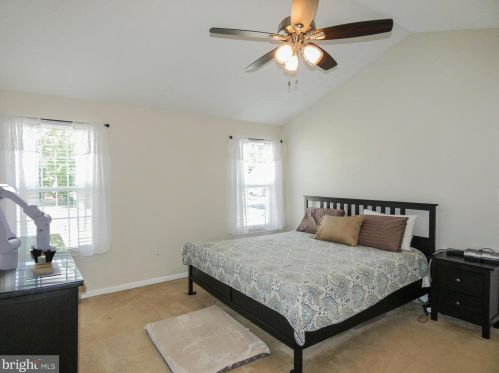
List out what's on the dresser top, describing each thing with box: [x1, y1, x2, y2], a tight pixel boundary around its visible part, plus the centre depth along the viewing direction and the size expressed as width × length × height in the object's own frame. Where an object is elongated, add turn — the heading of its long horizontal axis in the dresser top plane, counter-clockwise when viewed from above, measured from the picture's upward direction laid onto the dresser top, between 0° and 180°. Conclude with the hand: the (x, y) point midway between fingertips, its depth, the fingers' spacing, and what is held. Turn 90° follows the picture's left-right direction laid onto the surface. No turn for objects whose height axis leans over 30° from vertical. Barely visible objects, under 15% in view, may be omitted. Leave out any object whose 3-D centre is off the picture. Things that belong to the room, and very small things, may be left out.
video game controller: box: [29, 250, 47, 260], centre depth 175 cm, size 10×5×7 cm, turn 141°
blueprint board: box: [24, 261, 62, 281], centre depth 150 cm, size 24×14×4 cm, turn 37°
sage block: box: [37, 256, 46, 264], centre depth 155 cm, size 4×4×5 cm
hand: (43, 263), depth 155 cm, fingers open, 7 cm apart
